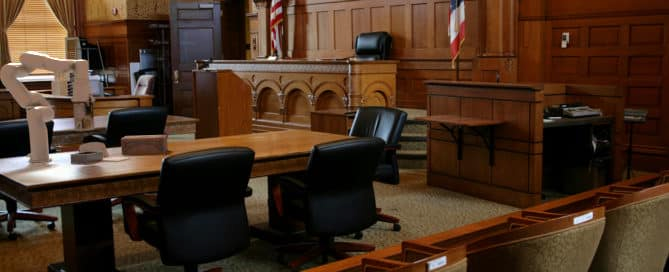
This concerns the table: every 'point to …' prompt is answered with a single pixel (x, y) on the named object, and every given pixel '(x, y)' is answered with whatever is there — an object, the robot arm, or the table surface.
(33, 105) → the robot arm
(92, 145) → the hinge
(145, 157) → the table surface
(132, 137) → the tissue box cover
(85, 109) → the coffee box
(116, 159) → the felt pad
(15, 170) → the table surface
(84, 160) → the metal bracket
